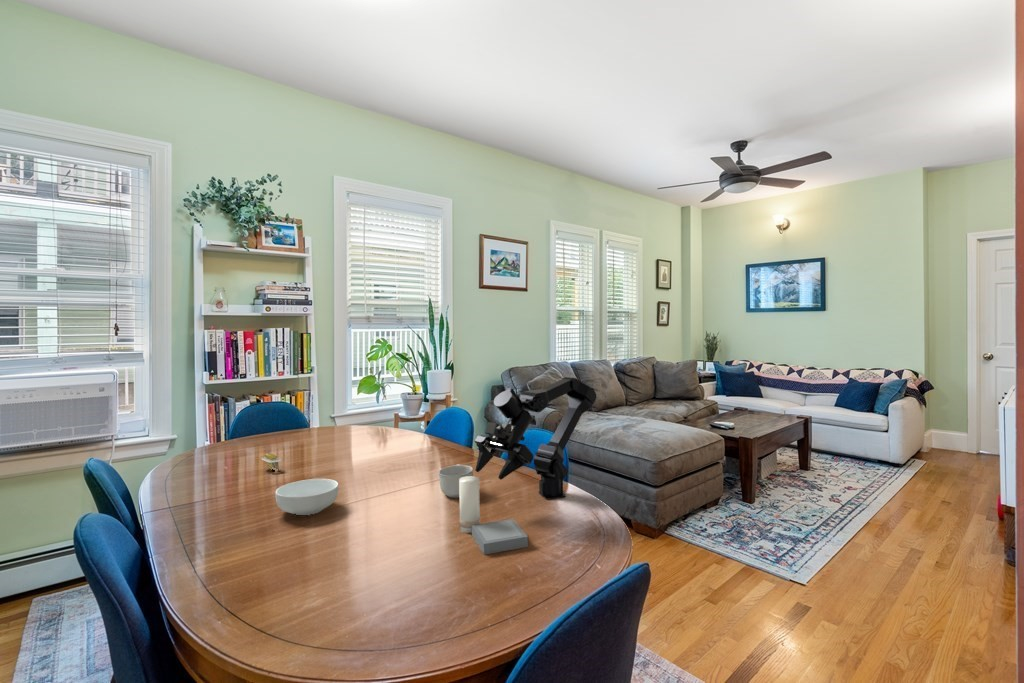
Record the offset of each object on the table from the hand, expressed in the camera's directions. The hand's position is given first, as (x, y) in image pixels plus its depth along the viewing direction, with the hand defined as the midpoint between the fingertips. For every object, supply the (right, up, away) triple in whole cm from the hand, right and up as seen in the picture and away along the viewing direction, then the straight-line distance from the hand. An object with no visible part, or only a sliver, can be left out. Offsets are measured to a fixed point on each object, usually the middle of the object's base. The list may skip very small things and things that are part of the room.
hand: (487, 475), depth 127 cm
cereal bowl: (-53, -13, +9) cm, 55 cm away
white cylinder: (-4, -13, -4) cm, 14 cm away
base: (+3, -13, -12) cm, 18 cm away
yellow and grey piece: (-84, -13, +48) cm, 97 cm away
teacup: (-11, -12, +23) cm, 28 cm away
